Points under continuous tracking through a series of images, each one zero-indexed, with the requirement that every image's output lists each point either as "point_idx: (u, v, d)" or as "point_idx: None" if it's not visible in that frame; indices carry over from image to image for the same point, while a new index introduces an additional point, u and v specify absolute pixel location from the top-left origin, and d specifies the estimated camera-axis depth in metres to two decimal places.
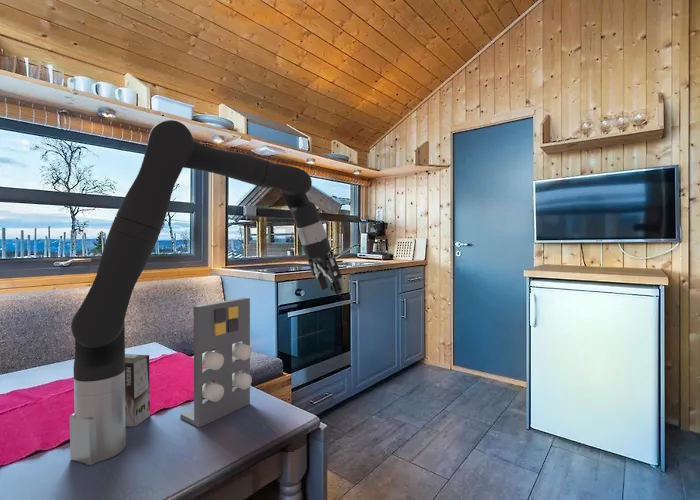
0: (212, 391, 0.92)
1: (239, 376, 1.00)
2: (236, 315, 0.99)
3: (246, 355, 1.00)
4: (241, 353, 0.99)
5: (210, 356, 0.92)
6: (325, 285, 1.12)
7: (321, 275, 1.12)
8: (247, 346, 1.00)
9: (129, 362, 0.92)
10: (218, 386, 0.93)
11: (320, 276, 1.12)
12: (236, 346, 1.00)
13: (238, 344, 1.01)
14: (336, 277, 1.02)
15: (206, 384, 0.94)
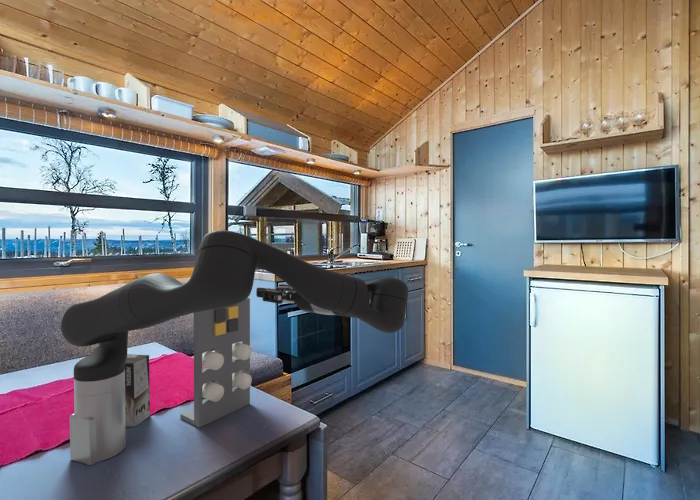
0: (212, 391, 0.92)
1: (239, 376, 1.00)
2: (236, 315, 0.99)
3: (246, 355, 1.00)
4: (241, 353, 0.99)
5: (210, 356, 0.92)
6: (281, 290, 0.93)
7: None
8: (247, 346, 1.00)
9: (129, 362, 0.92)
10: (218, 386, 0.93)
11: None
12: (236, 346, 1.00)
13: (238, 344, 1.01)
14: (264, 294, 0.83)
15: (206, 384, 0.94)
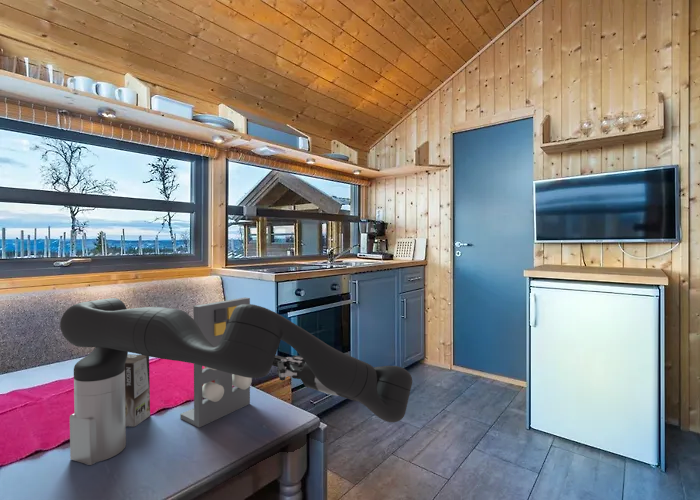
0: (212, 391, 0.92)
1: (239, 376, 1.00)
2: None
3: None
4: None
5: None
6: None
7: None
8: None
9: (129, 362, 0.92)
10: (218, 386, 0.93)
11: None
12: None
13: None
14: None
15: (206, 384, 0.94)
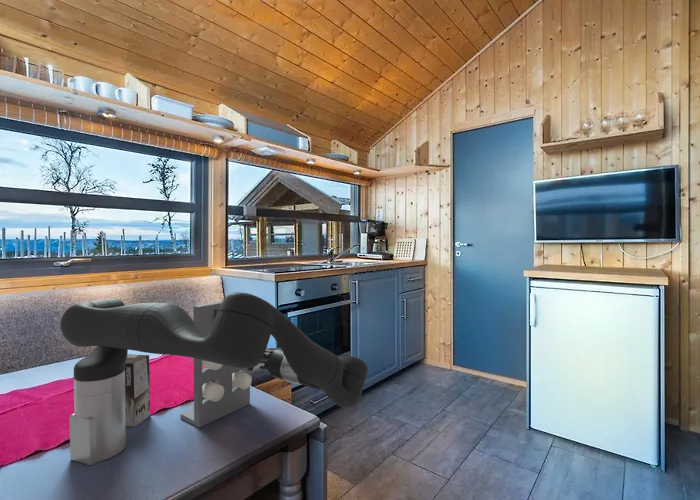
0: (212, 391, 0.92)
1: (239, 376, 1.00)
2: None
3: None
4: None
5: None
6: None
7: None
8: None
9: (129, 362, 0.92)
10: (218, 386, 0.93)
11: None
12: None
13: None
14: None
15: (206, 384, 0.94)
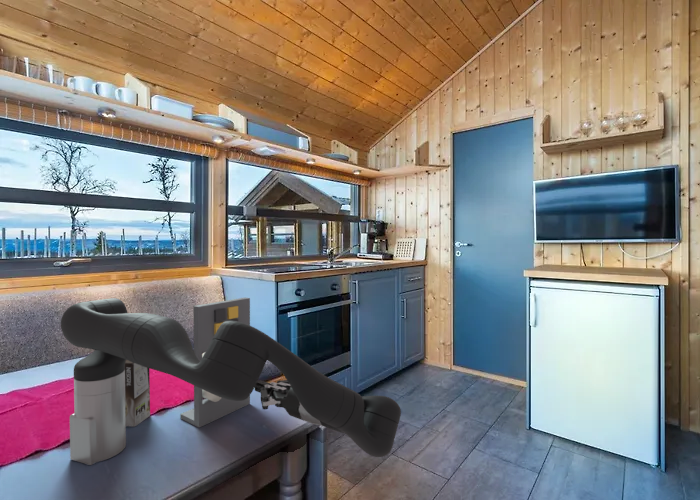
0: None
1: None
2: (236, 315, 0.99)
3: None
4: None
5: None
6: None
7: None
8: None
9: (129, 362, 0.92)
10: None
11: None
12: None
13: None
14: None
15: None
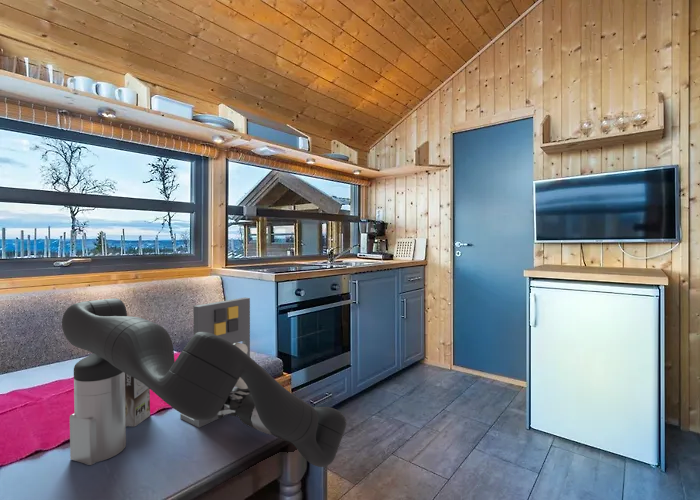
0: None
1: None
2: (236, 315, 0.99)
3: None
4: None
5: None
6: None
7: None
8: (243, 345, 1.01)
9: None
10: None
11: None
12: None
13: (234, 343, 1.02)
14: None
15: None
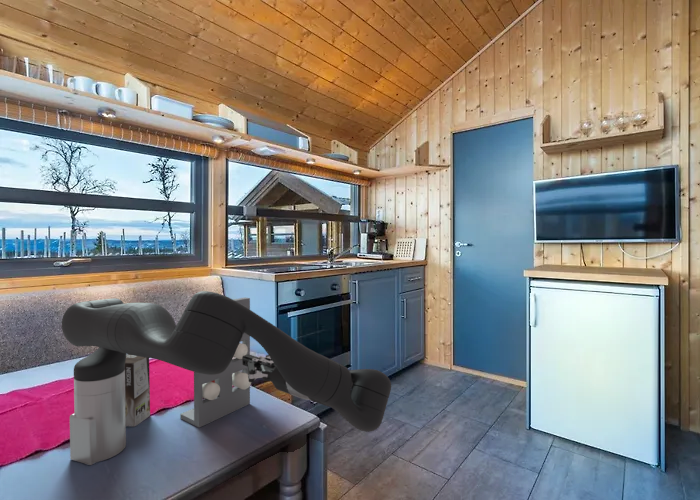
0: (208, 389, 0.92)
1: (239, 376, 1.00)
2: None
3: (242, 354, 1.01)
4: (237, 352, 1.00)
5: None
6: None
7: None
8: (243, 345, 1.01)
9: (129, 362, 0.92)
10: (214, 384, 0.94)
11: None
12: None
13: None
14: None
15: None
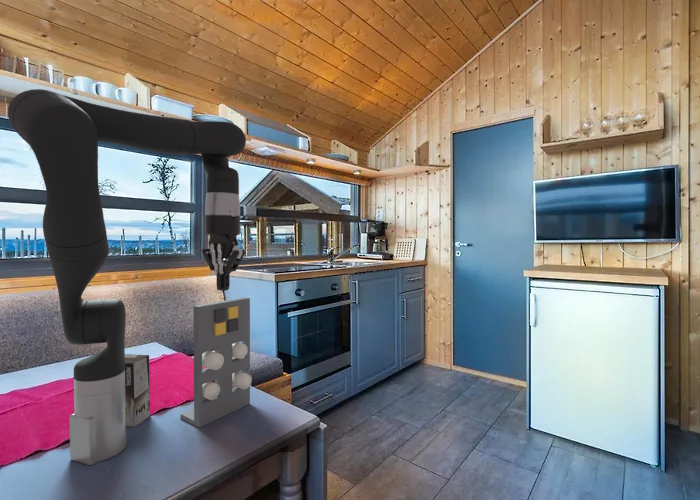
0: (208, 389, 0.92)
1: (239, 376, 1.00)
2: (236, 315, 0.99)
3: (242, 354, 1.01)
4: (237, 352, 1.00)
5: (210, 356, 0.92)
6: None
7: None
8: (243, 345, 1.01)
9: (129, 362, 0.92)
10: (214, 384, 0.94)
11: None
12: (232, 345, 1.01)
13: (234, 343, 1.02)
14: (230, 268, 0.83)
15: None
